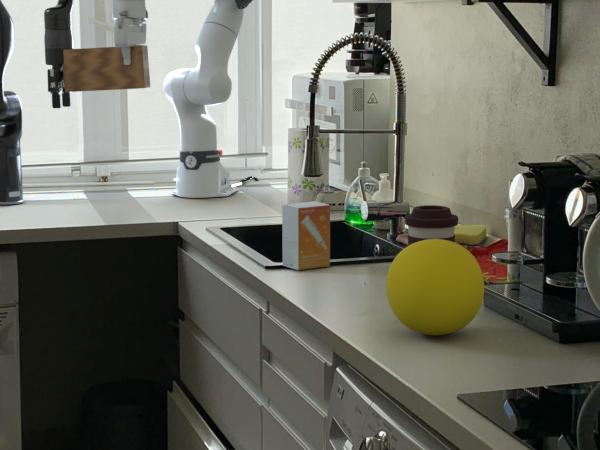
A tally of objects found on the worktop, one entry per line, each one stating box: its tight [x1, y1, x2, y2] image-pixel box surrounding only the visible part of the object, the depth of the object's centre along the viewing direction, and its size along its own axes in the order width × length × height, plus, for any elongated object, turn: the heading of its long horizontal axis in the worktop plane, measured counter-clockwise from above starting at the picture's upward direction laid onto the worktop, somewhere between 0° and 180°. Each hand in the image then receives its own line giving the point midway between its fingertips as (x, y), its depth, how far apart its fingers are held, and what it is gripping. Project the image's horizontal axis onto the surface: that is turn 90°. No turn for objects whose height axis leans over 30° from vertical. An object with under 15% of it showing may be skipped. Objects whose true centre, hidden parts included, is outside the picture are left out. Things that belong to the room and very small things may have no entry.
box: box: [63, 44, 151, 93], centre depth 282 cm, size 22×6×11 cm, turn 84°
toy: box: [385, 239, 485, 336], centre depth 164 cm, size 15×15×15 cm
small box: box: [281, 200, 331, 271], centre depth 216 cm, size 8×6×13 cm
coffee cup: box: [404, 204, 459, 246], centre depth 197 cm, size 10×10×15 cm
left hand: (61, 107), depth 285 cm, fingers open, 8 cm apart
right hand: (131, 64), depth 281 cm, fingers closed on box, 6 cm apart
